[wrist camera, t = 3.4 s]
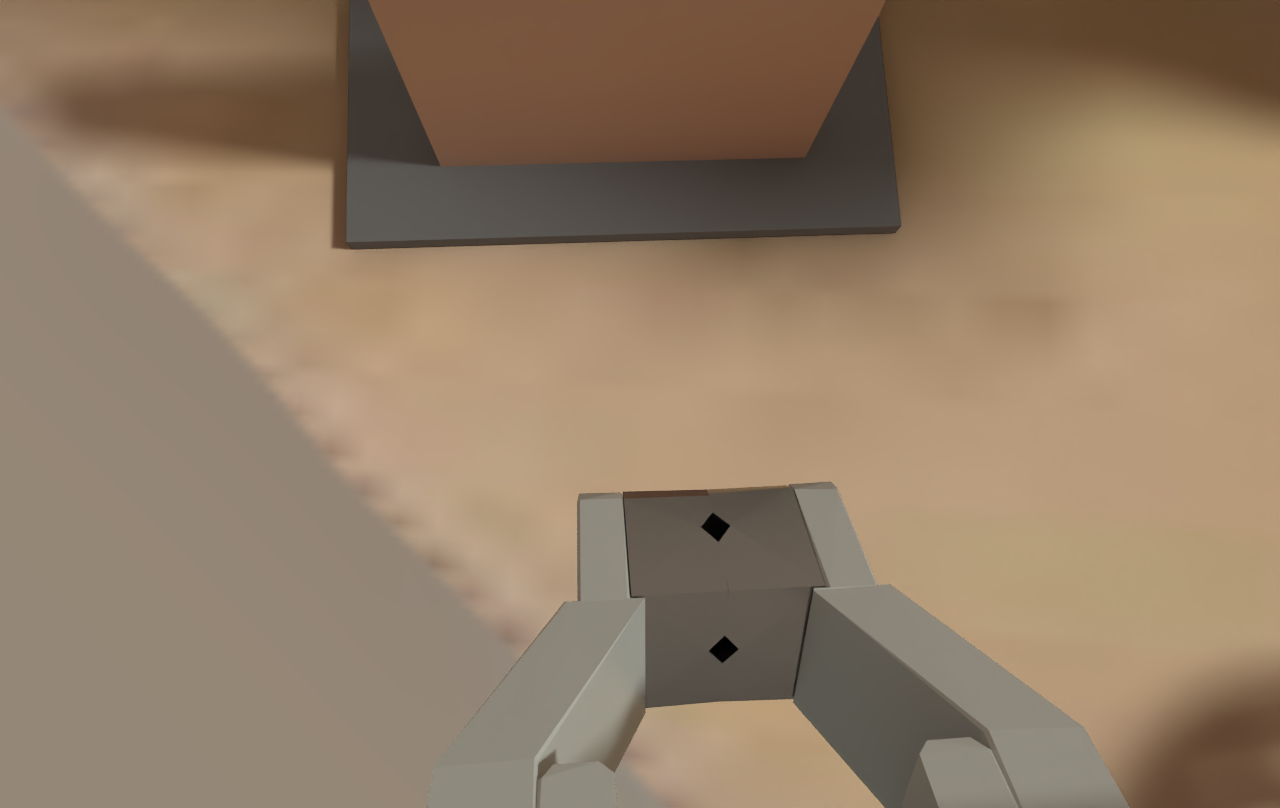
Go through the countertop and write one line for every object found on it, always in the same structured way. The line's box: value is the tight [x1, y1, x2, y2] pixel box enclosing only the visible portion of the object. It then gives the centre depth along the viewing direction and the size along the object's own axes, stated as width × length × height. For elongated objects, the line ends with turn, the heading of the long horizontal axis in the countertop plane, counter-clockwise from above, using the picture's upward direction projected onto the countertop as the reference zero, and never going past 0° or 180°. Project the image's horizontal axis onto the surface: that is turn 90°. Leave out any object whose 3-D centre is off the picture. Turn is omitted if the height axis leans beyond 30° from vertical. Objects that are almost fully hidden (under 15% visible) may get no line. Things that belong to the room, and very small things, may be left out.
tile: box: [368, 0, 886, 167], centre depth 21 cm, size 12×2×12 cm, turn 93°
